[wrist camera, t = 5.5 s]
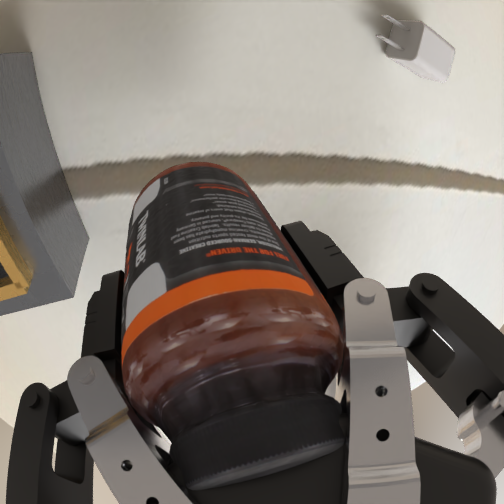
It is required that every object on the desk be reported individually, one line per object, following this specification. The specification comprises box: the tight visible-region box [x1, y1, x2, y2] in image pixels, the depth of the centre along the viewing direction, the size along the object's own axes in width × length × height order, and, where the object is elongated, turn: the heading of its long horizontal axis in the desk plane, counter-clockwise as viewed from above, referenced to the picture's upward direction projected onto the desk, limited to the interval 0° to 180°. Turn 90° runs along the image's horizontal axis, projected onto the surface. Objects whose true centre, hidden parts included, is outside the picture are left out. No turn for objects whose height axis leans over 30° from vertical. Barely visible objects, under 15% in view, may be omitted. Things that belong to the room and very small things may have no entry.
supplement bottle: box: [121, 162, 345, 490], centre depth 9 cm, size 6×6×11 cm
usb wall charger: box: [376, 15, 455, 83], centre depth 17 cm, size 4×7×4 cm, turn 76°
